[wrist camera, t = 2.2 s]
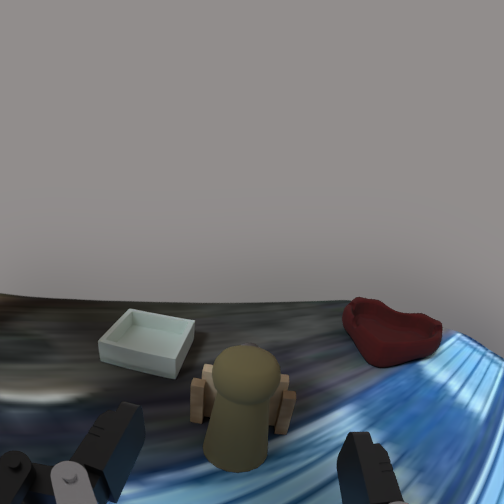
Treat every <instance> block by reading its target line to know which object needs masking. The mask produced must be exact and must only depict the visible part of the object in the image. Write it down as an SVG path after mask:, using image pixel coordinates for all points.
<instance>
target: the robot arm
mask: <svg viewBox="0 0 504 504" xmlns="http://www.w3.org/2000/svg"><path fill="white" fill-rule="evenodd" d="M144 440H145V425H144V418H143V411H142V407H141V406H139V405H135V404H131V403H128V402H124V401H123V402H121V404H120V405H119V407H118V408H117V410H116V412H114V411H111V410H108V411H106V412H105V413H103V414H102V415H100V416H99V417H98V418H97V420H96V421H95V423H94V424H93V427H91V429H90V430H89V432H88V434H87V435H86V436H85V438H84V439H83V441H82V442H81V444H80V445H79V447H78V448H77V450H76V452H75V453H74V455H73V456H72V458H71V459H70V460H69V461H63V462H60V463H58V464H56V465H55V466H47V465H42V464H37V463H32V462H31V461H30V459H29V458H28V456H27V455H26V454H24V453H22V452H20V451H9V452H6V453H5V454H3V455H2V456H1V458H0V504H106V503H107V501H111V502H114V503H117V501H118V499H119V497H120V494H121V492H122V490H123V488H124V486H125V483H126V481H127V479H128V477H129V475H130V472H131V470H132V468H133V466H134V464H135V461H136V459H137V457H138V455H139V453H140V450H141V448H142V446H143V444H144ZM337 473H338V479H339V485H340V491H341V497H342V503H343V504H408V503H406V502H404V500H403V498H402V495H401V492H400V489H399V486H398V482H397V479H396V476H395V473H394V472H393V467H392V464H390V459H389V456H388V453H387V451H386V450H385V449H384V448H383V447H382V446H381V445H380V443H377V444H373V442H372V439H371V436H370V433H369V432H349V433H348V435H347V437H346V440H345V442H344V444H343V446H342V449H341V451H340V453H339V455H338V459H337Z"/></svg>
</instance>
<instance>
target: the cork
mask: <svg viewBox="0 0 504 504" xmlns="http://www.w3.org/2000/svg"><path fill="white" fill-rule="evenodd" d="M212 379H213V383H214V387H215V389H216V390H217V394H216V398H215V402H214V406H213V409H212V413H211V417H210V421H209V424H208V428H207V432H206V436H205V439H204V443H203V451H204V455H205V456H206V458H207V459H208V461H209V462H210V463H212V464H213V465H214V466H216V467H217V468H220V469H222V470H225V471H229V472H236V473H239V472H248V471H251V470H253V469H256V468H258V467H259V466H260V465H261V464H262V463H264V461H265V459H266V457H267V451H268V426H269V398H271V397H272V396H273V395H274V393H275V391H276V390H277V388H278V386H279V384H280V380H281V372H280V366H279V364H278V362H277V360H276V358H275V357H274V356H273V355H272V354H271V353H270V352H268V351H266V350H264V349H261V348H258V347H255V346H248V345H239V346H233V347H229V348H227V349H225V350H224V351H223V352H222V353H221V354H220V355H219V356H218V357H217V358H216V359H215V362H214V365H213V368H212Z"/></svg>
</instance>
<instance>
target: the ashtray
mask: <svg viewBox="0 0 504 504" xmlns="http://www.w3.org/2000/svg"><path fill="white" fill-rule="evenodd" d="M342 321H343V326H344V328H345V330H346V331H347V332H348V333H349V335H350V336H351V338H352V339H353V341H354V343H355V345H356V346H357V348H358V350H359V351H360V353H361V354H362V355H363V357H364V359H365V360H366V361H367V362H368V363H369V364H371V365H373V366H376V367H380V368H381V367H390V366H393V365H398V364H401V363H405V362H408V361H410V360H414V359H417V358H423V357H426V356H429V355H431V354H432V353H434V352H435V351H436V350H437V349H438V347H439V345H440V342H441V338H442V323H441V322H440V321H438V320H435V319H433V318H430V317H429V316H427V315H425V314H422V313H411V314H409V313H401V312H397V311H395V310H393V309H391V308H389V307H388V306H386V305H385V304H384V303H383V302H381V301H379V300H375V299H366V298H362V297H356V298H355V299H353V300H352V301H351V302H350V303H349V304H348V305H347V306H346V307H345V309H344V312H343V316H342Z"/></svg>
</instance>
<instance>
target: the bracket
mask: <svg viewBox="0 0 504 504" xmlns="http://www.w3.org/2000/svg"><path fill="white" fill-rule="evenodd" d="M242 345H248V346H255V347H258V346H257V345H256V344H254V343H244V344H242ZM258 348H259V347H258ZM212 368H213V365H208V364H205V365H204V368H203V370H202V379H198V378H193V381H192V383H191V397H190V422H194V423H200V424H202V422H203V419H204V416H206V417H211V413H212V409H213V406H214V402H215V398H216V394H217V390H216V389H215V387H214V383H213V379H212ZM288 386H289V375H282V374H281V380H280V384H279V386H278V388H277V390H276V391H275V393H274V395H273V396H272V397H271V398H269V425H272V426H274V434H284V435H286V434H287V431H288V427H289V424H290V420H291V417H292V413H293V410H294V406H295V403H296V391H287V390H288Z"/></svg>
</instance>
